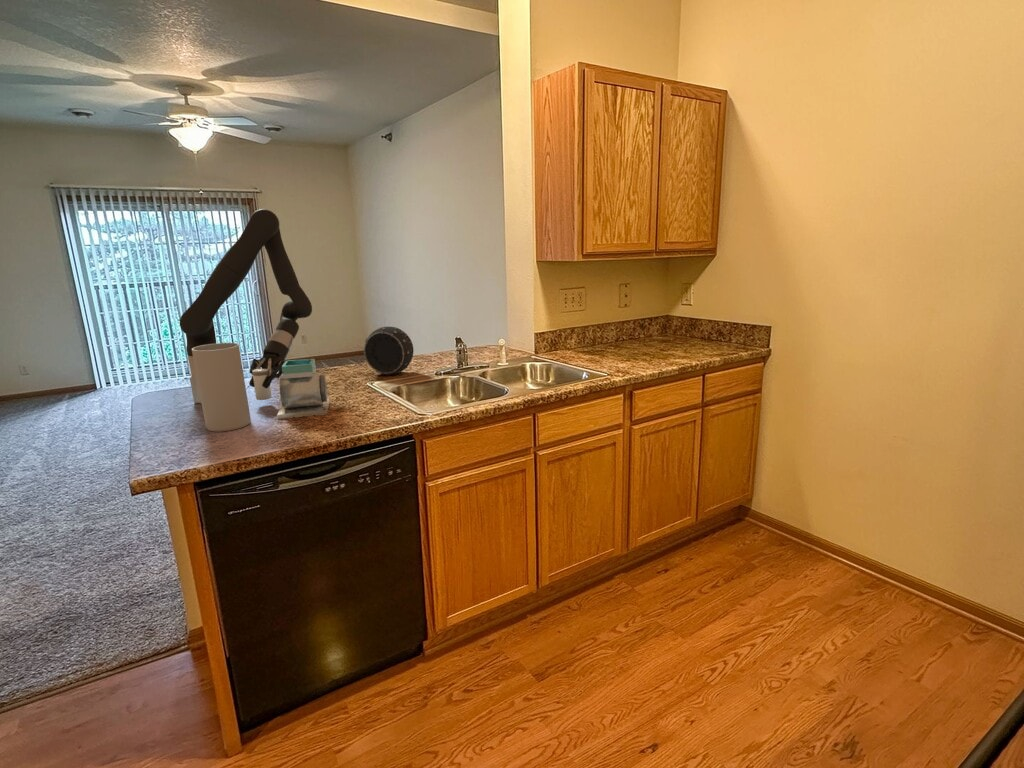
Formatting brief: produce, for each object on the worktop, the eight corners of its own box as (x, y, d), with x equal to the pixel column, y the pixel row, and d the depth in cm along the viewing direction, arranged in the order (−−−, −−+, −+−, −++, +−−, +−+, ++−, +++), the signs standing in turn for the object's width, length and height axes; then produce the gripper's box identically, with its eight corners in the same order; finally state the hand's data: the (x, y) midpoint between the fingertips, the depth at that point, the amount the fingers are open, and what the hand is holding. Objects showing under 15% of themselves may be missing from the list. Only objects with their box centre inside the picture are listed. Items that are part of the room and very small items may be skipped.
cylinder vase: (235, 417, 177) (222, 341, 171) (259, 422, 171) (247, 344, 164) (197, 428, 167) (182, 348, 160) (222, 435, 160) (207, 352, 154)
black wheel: (408, 377, 222) (404, 329, 217) (363, 376, 226) (358, 328, 221) (417, 371, 232) (414, 325, 227) (374, 370, 236) (370, 324, 231)
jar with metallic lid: (254, 400, 185) (250, 372, 183) (257, 396, 190) (253, 368, 188) (270, 399, 187) (267, 371, 184) (273, 395, 191) (269, 367, 189)
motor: (277, 419, 174) (270, 369, 169) (284, 406, 187) (277, 359, 183) (326, 414, 177) (320, 365, 173) (329, 402, 190) (324, 356, 186)
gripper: (256, 338, 193) (234, 379, 185) (289, 340, 188) (268, 382, 180) (269, 350, 199) (248, 390, 191) (301, 352, 194) (281, 393, 186)
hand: (258, 386), depth 186 cm, fingers closed on jar with metallic lid, 5 cm apart
